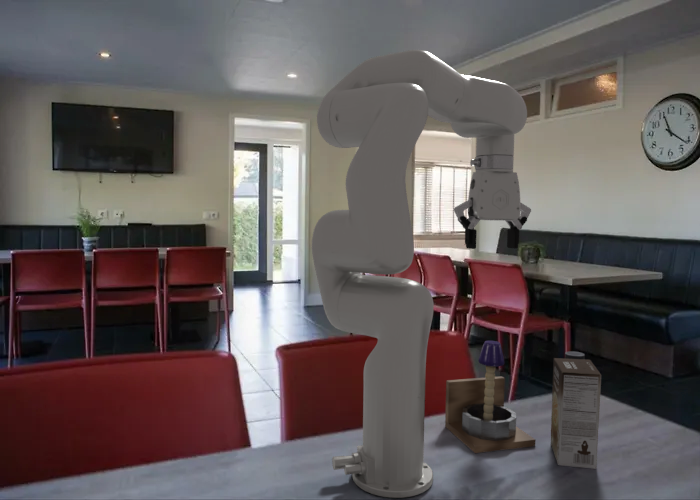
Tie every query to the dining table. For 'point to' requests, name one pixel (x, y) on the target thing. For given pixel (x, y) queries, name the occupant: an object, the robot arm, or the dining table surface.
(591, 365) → the coffee box
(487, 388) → the toy lamp
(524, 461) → the dining table surface
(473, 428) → the grey faceted ring
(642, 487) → the dining table surface
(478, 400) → the bracket
